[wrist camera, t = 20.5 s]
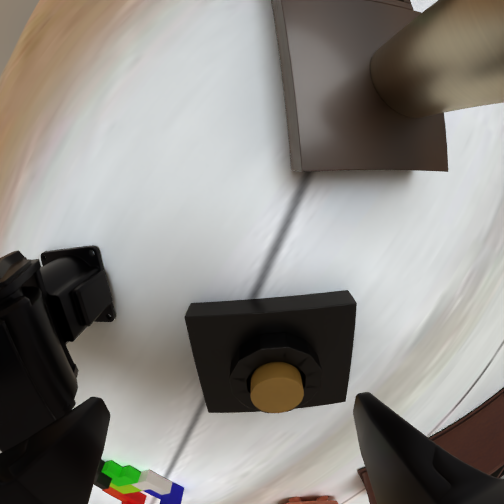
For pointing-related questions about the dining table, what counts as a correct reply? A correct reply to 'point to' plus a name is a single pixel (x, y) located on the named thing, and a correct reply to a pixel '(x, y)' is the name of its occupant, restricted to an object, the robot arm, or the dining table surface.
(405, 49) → the tin
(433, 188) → the dining table surface
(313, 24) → the stepped brown tray
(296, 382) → the button
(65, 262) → the robot arm
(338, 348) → the yellow push button box
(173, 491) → the building blocks
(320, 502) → the teapot
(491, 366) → the dining table surface
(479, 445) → the desk organizer
